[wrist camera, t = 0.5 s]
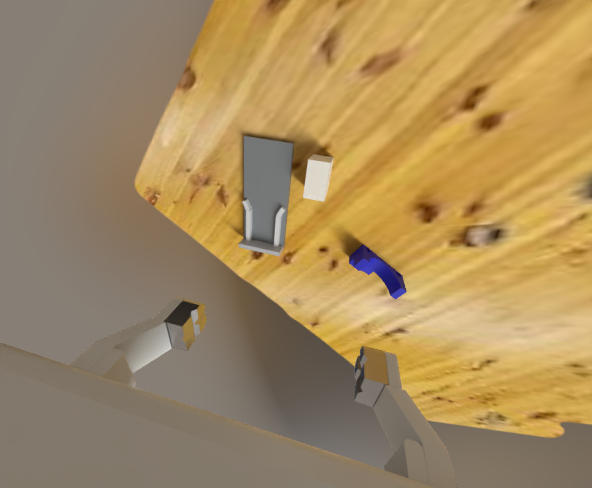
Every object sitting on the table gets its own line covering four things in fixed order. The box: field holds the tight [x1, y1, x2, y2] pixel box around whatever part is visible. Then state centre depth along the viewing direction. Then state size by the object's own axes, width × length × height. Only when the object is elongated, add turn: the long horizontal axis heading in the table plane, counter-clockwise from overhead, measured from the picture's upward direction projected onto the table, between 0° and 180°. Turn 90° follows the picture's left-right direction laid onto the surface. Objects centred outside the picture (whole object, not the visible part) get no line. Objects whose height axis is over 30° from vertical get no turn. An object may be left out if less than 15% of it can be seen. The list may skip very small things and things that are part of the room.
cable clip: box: [349, 244, 406, 299], centre depth 53 cm, size 12×4×6 cm, turn 54°
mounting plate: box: [239, 136, 294, 256], centre depth 51 cm, size 24×10×4 cm, turn 174°
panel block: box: [303, 154, 334, 201], centre depth 45 cm, size 7×4×6 cm, turn 174°
